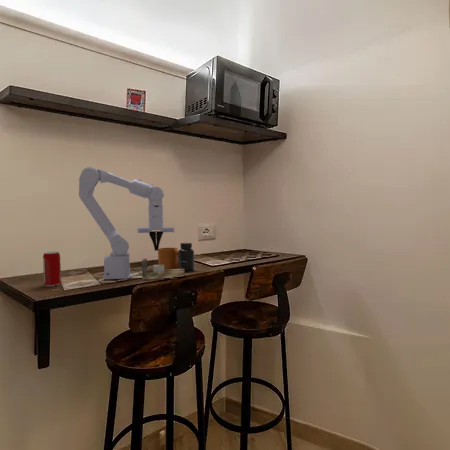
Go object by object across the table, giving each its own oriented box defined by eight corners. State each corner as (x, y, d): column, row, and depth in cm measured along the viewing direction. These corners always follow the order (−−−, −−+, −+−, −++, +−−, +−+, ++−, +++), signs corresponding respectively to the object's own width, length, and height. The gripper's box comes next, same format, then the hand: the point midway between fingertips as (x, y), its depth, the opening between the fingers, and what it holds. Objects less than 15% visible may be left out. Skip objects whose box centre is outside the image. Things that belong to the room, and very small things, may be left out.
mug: (171, 271, 154) (170, 250, 153) (154, 268, 162) (153, 248, 161) (186, 268, 160) (186, 248, 160) (170, 265, 168) (169, 246, 168)
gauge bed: (142, 279, 134) (141, 261, 134) (143, 276, 141) (143, 258, 141) (184, 277, 136) (184, 259, 136) (184, 274, 143) (184, 257, 143)
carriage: (153, 275, 136) (153, 266, 136) (154, 273, 141) (153, 264, 140) (164, 275, 137) (163, 266, 137) (164, 273, 141) (164, 264, 141)
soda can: (63, 284, 127) (62, 251, 127) (47, 287, 123) (46, 252, 123) (57, 282, 131) (56, 250, 130) (41, 285, 127) (40, 251, 126)
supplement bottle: (179, 272, 149) (178, 244, 148) (177, 270, 155) (176, 242, 155) (195, 271, 151) (195, 243, 150) (192, 269, 157) (192, 242, 157)
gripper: (136, 217, 139) (137, 252, 139) (173, 216, 141) (174, 250, 141) (138, 217, 146) (139, 250, 146) (174, 216, 148) (174, 249, 148)
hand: (156, 250), depth 144 cm, fingers closed
